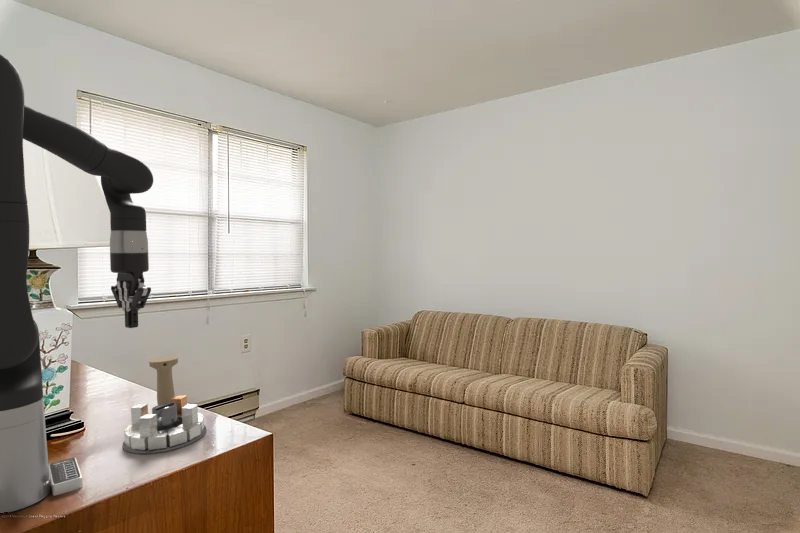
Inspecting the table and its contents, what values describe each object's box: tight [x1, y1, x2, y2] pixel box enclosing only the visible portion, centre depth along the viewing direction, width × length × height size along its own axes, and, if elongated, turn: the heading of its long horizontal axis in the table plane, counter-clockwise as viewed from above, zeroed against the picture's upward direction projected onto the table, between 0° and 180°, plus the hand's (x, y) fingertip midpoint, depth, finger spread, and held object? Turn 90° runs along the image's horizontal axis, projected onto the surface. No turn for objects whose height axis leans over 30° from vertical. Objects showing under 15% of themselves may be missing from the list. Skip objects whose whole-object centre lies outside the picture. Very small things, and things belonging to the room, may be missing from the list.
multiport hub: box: [48, 457, 83, 497], centre depth 89 cm, size 4×11×2 cm, turn 40°
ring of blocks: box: [122, 402, 207, 455], centre depth 107 cm, size 17×17×7 cm
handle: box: [148, 355, 179, 405], centre depth 119 cm, size 5×6×15 cm
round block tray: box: [123, 395, 205, 450], centre depth 107 cm, size 16×16×6 cm
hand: (131, 327), depth 107 cm, fingers closed
